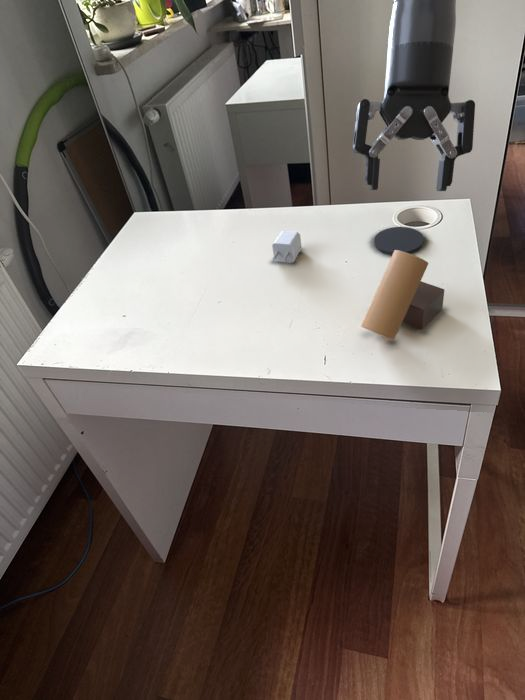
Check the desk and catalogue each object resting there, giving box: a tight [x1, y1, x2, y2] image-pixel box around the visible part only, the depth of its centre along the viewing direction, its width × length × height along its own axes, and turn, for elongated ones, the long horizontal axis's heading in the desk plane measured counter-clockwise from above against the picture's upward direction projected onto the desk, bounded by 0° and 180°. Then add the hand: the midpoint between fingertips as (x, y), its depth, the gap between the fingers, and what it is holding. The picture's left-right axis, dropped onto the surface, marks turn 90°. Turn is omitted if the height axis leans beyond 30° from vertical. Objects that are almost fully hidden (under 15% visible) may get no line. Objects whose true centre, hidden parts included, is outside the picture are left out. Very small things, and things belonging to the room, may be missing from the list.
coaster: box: [373, 226, 425, 256], centre depth 97 cm, size 9×9×1 cm
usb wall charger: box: [271, 230, 302, 264], centre depth 97 cm, size 4×7×4 cm, turn 158°
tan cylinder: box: [360, 250, 429, 341], centre depth 76 cm, size 12×5×12 cm, turn 137°
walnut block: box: [402, 280, 445, 331], centre depth 81 cm, size 6×8×4 cm
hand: (407, 190), depth 66 cm, fingers open, 8 cm apart
